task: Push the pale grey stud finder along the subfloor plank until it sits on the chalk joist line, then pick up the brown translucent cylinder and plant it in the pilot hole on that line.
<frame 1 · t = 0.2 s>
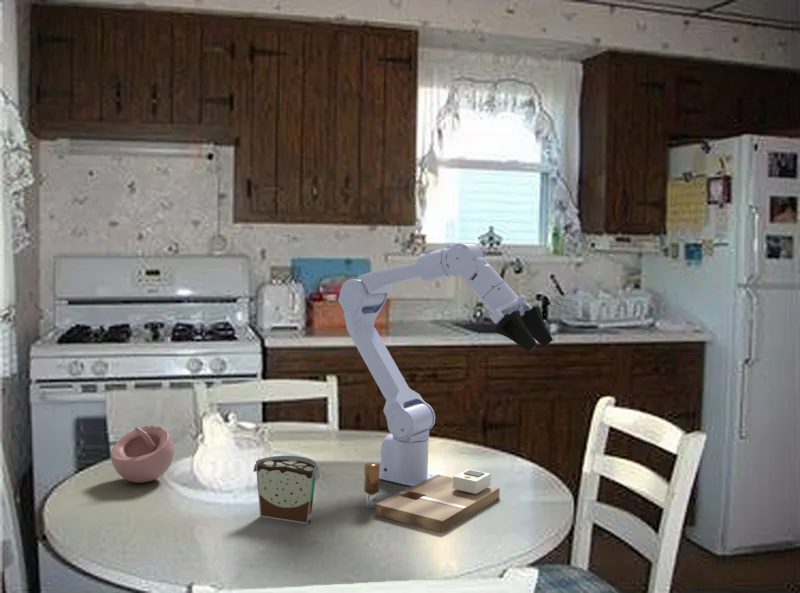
hand: (541, 345, 143), 31 cm above the table, tool tilted 45°, fingers open, 7 cm apart
subfloor plank: (439, 506, 144), on the table
brown translucent cylinder: (371, 506, 143), on the table
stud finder: (471, 480, 148), point 4 cm above the table, slide at 0.0 cm
mortar and pestle: (142, 482, 155), on the table
food container: (291, 515, 138), on the table
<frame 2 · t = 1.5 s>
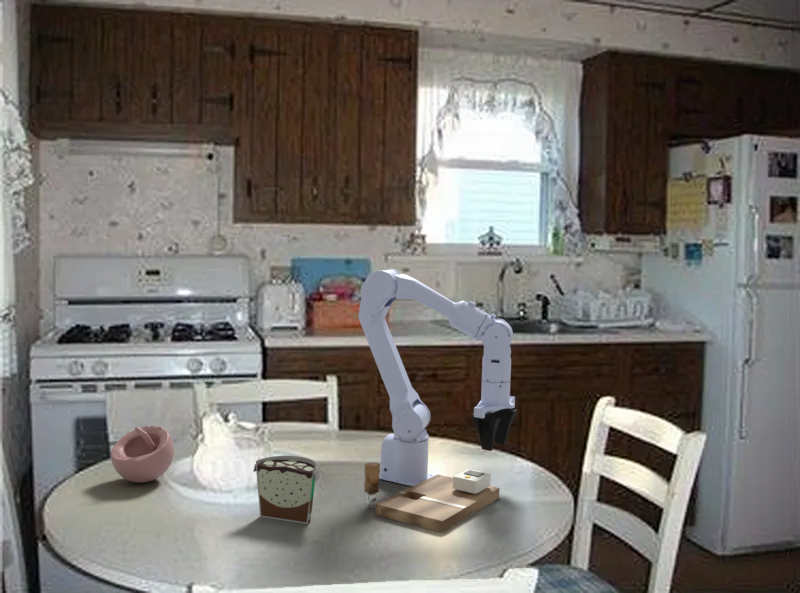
hand: (493, 446, 155), 8 cm above the table, tool pointing down, fingers open, 5 cm apart
nothing on the table moved.
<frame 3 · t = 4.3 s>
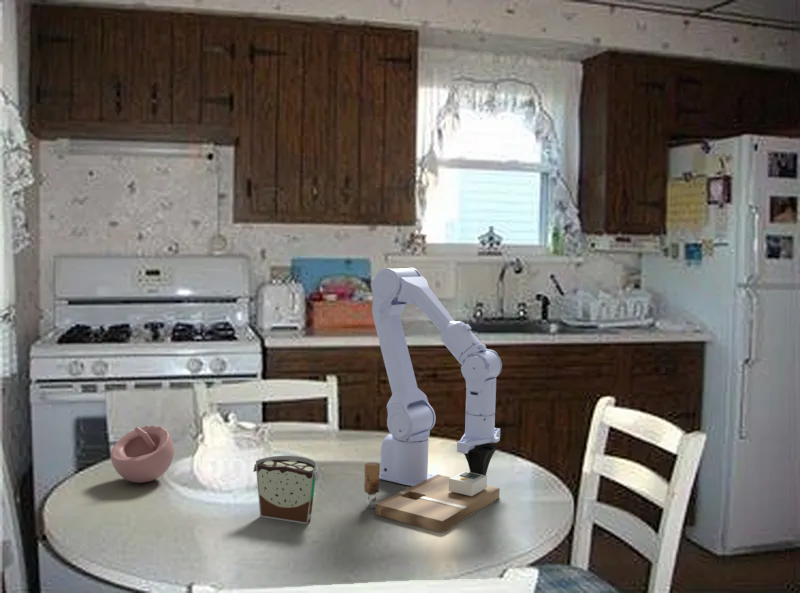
hand: (478, 481, 151), 3 cm above the table, tool pointing down, fingers closed
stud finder: (467, 482, 147), point 4 cm above the table, slide at 1.6 cm, touching gripper
everything else where it was.
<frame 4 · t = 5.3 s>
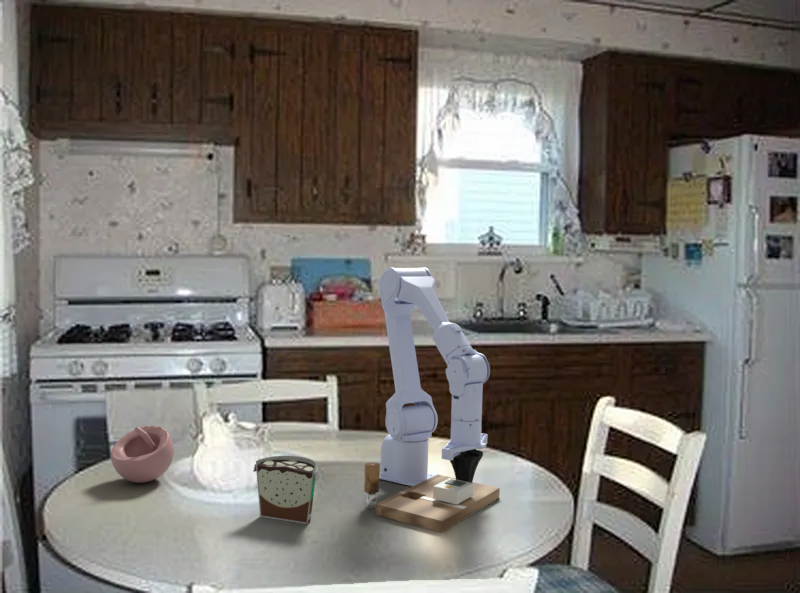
hand: (464, 488, 146), 3 cm above the table, tool pointing down, fingers closed
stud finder: (453, 490, 142), point 4 cm above the table, slide at 7.3 cm, touching gripper
everything else where it was.
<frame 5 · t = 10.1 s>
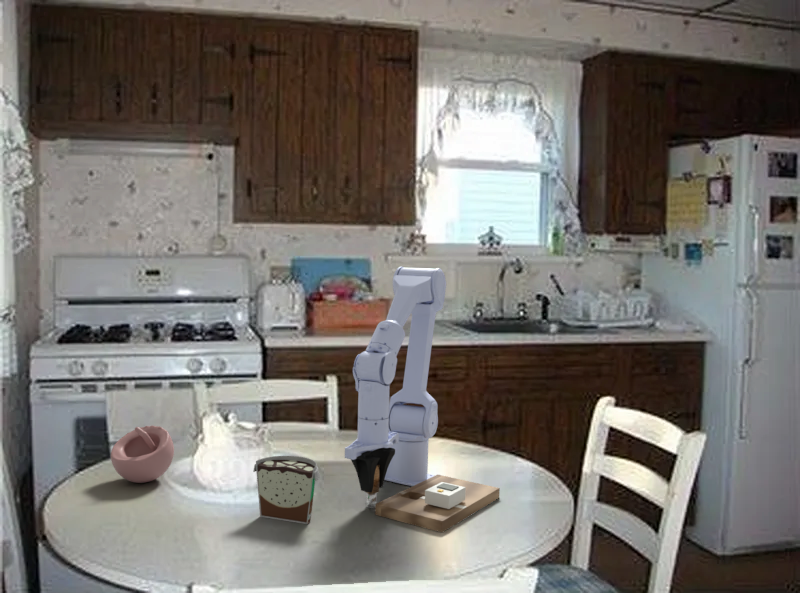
hand: (371, 488, 143), 3 cm above the table, tool pointing down, fingers closed on brown translucent cylinder, 3 cm apart
brown translucent cylinder: (371, 506, 143), on the table, touching gripper
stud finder: (445, 494, 140), point 4 cm above the table, slide at 10.2 cm
everything else where it was.
when the fingers open (4 cm above the table, at t = 13.7 s): brown translucent cylinder stays where it is, resting in subfloor plank.
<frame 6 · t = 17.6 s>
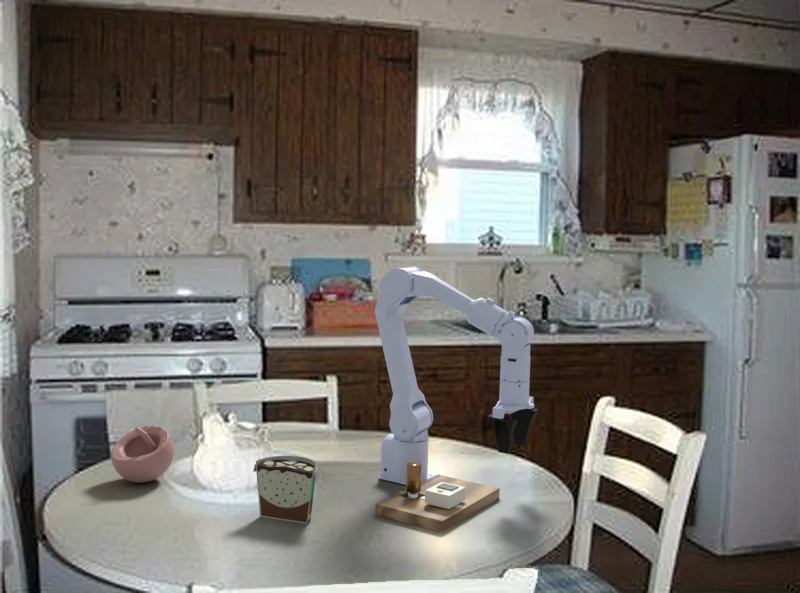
hand: (512, 448, 151), 9 cm above the table, tool pointing down, fingers open, 7 cm apart
brown translucent cylinder: (412, 506, 144), resting in subfloor plank
everything else where it was.
at the end: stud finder slide at 10.2 cm; brown translucent cylinder 0.0 cm from the target spot, resting in subfloor plank; brown translucent cylinder tilted 0° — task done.
